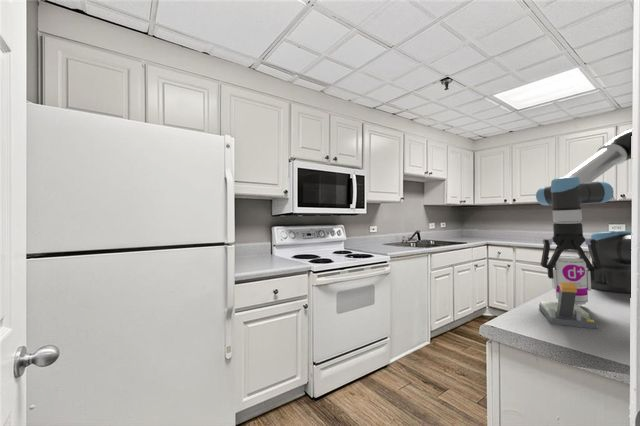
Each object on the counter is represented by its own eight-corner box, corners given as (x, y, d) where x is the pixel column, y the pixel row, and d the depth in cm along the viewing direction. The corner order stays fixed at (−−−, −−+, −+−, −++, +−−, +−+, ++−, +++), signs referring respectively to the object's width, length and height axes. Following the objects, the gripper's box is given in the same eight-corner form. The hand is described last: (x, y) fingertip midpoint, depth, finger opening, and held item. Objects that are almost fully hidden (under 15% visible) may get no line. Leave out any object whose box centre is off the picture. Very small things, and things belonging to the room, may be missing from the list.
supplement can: (592, 306, 91) (589, 260, 91) (559, 303, 95) (556, 259, 95) (583, 299, 98) (581, 256, 98) (553, 296, 102) (551, 255, 102)
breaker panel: (577, 312, 90) (577, 299, 90) (597, 328, 78) (596, 314, 78) (539, 308, 95) (538, 296, 95) (551, 323, 82) (551, 310, 82)
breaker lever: (572, 314, 83) (577, 283, 78) (575, 319, 81) (580, 288, 77) (553, 312, 84) (557, 282, 80) (555, 317, 83) (559, 287, 79)
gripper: (603, 220, 95) (607, 287, 95) (527, 223, 104) (530, 284, 104) (614, 221, 88) (618, 294, 88) (532, 224, 97) (535, 289, 97)
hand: (571, 288), depth 96 cm, fingers closed on supplement can, 8 cm apart
